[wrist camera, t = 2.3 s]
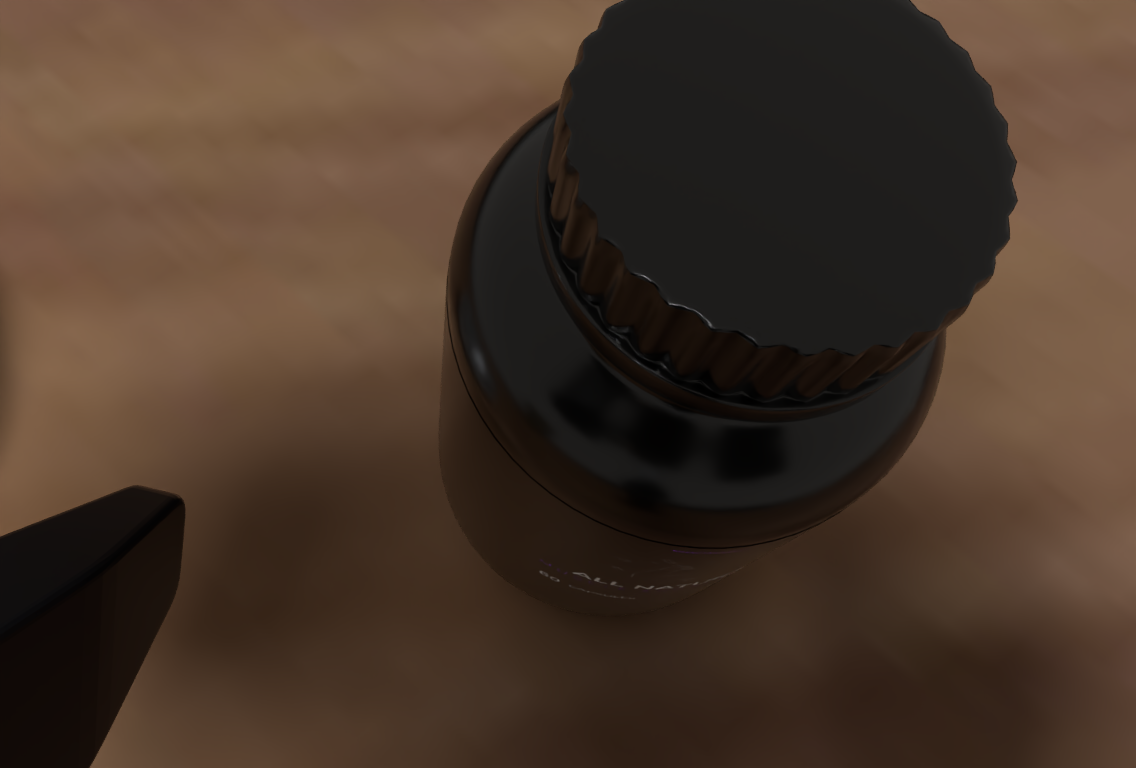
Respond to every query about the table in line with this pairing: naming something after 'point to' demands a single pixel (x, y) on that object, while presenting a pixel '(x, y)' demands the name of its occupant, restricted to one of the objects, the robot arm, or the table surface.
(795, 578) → the table surface
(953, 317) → the supplement bottle
